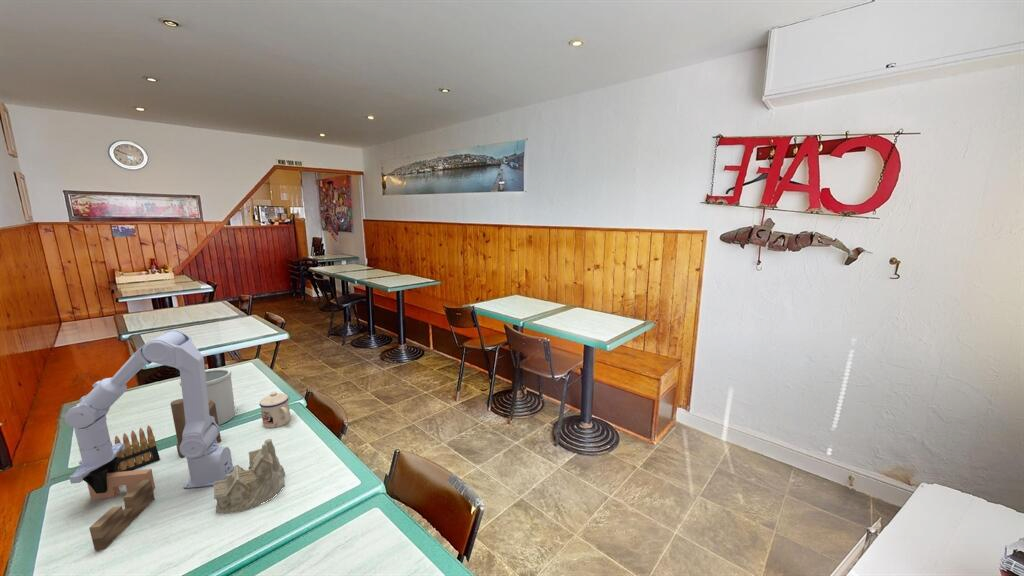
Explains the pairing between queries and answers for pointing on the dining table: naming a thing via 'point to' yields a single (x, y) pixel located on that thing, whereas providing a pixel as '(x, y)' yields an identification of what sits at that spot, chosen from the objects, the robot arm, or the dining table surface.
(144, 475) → the cross plate
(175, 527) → the dining table surface
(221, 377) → the utensil holder
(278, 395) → the teacup with lid
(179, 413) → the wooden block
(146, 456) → the ammunition clip
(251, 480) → the ceramic cottage
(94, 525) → the slotted base plate
